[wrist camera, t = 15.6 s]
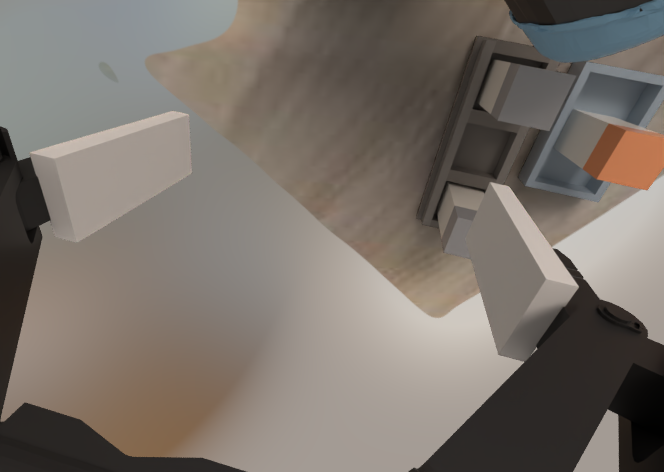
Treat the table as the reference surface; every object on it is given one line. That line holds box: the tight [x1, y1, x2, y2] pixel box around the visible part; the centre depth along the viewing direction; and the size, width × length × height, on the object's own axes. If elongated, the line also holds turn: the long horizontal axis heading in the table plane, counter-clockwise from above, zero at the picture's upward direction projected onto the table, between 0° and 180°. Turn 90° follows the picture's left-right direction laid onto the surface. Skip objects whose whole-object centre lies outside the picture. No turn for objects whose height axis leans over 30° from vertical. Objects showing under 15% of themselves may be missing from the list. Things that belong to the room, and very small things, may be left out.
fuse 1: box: [437, 181, 485, 259], centre depth 41 cm, size 4×4×11 cm
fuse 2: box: [477, 59, 576, 131], centre depth 34 cm, size 4×4×11 cm
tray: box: [518, 61, 664, 202], centre depth 39 cm, size 14×9×3 cm, turn 170°
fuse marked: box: [553, 109, 664, 190], centre depth 35 cm, size 4×4×11 cm
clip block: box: [416, 36, 560, 229], centre depth 41 cm, size 23×9×3 cm, turn 170°
